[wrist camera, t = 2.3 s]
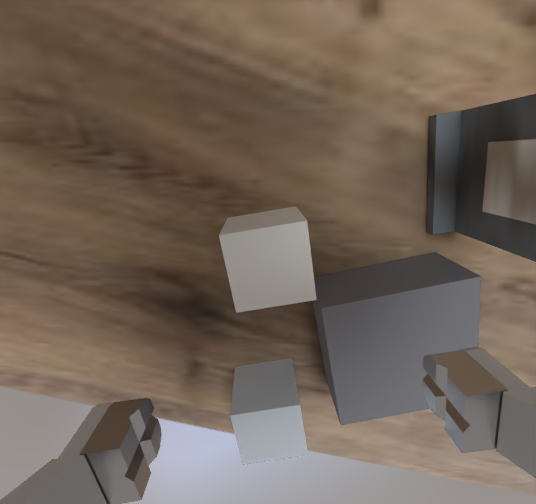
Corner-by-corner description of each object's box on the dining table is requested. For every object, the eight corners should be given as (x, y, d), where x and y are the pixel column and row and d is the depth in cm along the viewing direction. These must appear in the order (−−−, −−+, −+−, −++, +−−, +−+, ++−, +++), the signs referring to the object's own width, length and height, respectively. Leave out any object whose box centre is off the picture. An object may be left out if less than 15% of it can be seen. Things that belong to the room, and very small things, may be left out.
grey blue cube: (235, 366, 25) (230, 415, 20) (291, 357, 25) (299, 404, 20) (245, 409, 26) (243, 464, 22) (298, 401, 26) (308, 455, 22)
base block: (307, 276, 23) (321, 308, 18) (433, 250, 22) (480, 276, 18) (325, 375, 26) (340, 425, 21) (435, 354, 25) (476, 399, 21)
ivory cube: (227, 217, 21) (218, 235, 16) (295, 206, 21) (307, 220, 16) (240, 279, 22) (236, 312, 18) (304, 269, 22) (316, 300, 17)
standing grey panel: (429, 116, 19) (596, 77, 10) (489, 106, 19) (716, 57, 10) (426, 232, 21) (556, 289, 12) (479, 223, 21) (650, 274, 12)
